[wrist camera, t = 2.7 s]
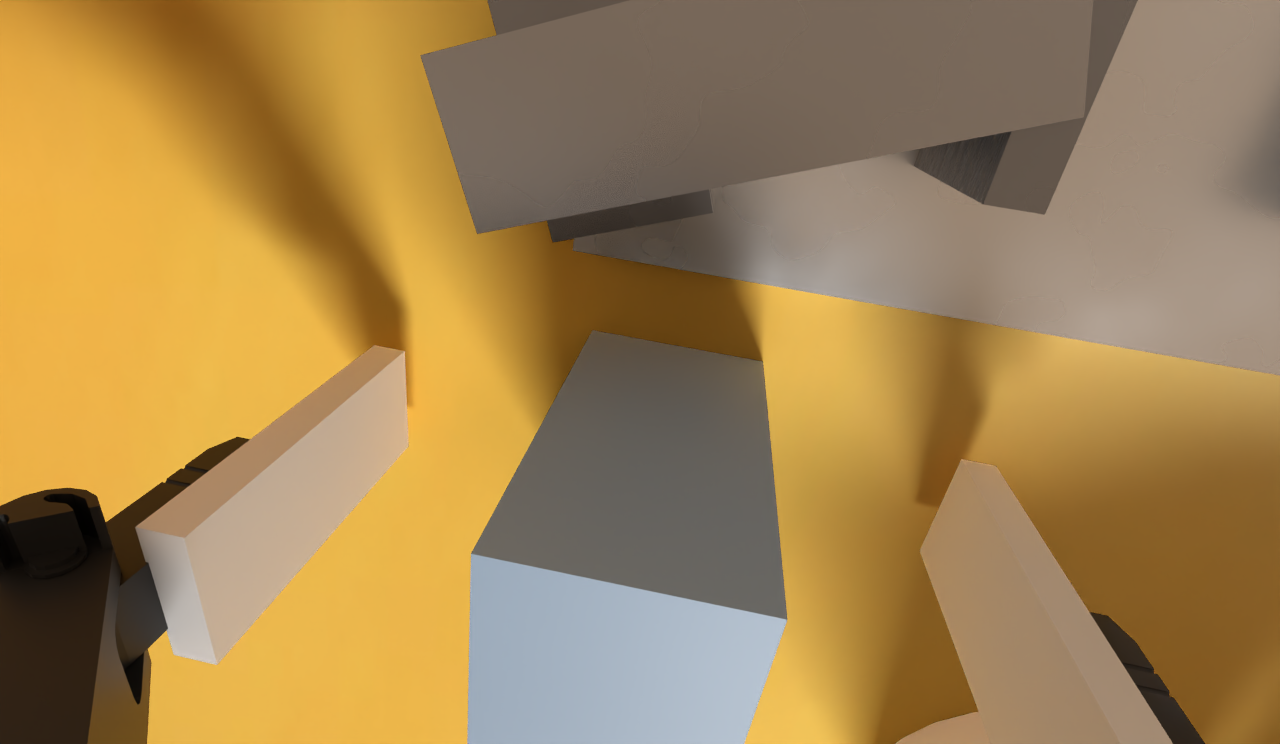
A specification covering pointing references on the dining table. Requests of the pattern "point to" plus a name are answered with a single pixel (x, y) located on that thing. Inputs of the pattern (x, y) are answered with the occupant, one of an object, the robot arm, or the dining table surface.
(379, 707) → the dining table surface
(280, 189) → the dining table surface
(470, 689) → the block
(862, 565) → the dining table surface
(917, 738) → the cylinder with rectangular tab
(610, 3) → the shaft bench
